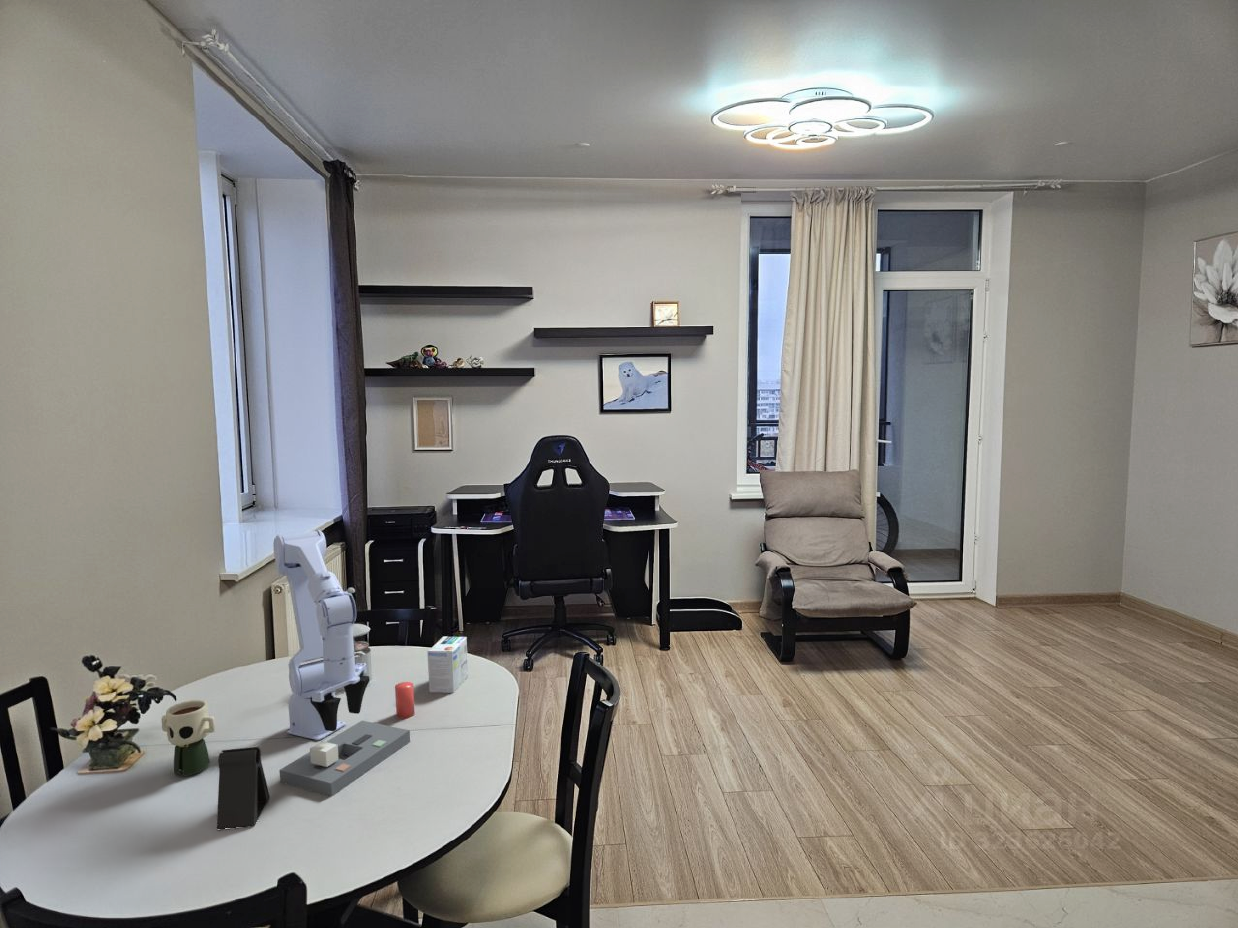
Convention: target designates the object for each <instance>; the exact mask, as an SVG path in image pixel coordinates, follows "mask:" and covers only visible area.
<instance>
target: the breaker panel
mask: <svg viewBox="0 0 1238 928" xmlns="http://www.w3.org/2000/svg"><path fill="white" fill-rule="evenodd" d="M326 742H328V743H332V744H336V745H338V760H337V761H335V762H334V763H332V764H331V765H329V766H328V767H325V766H321V765H317V764H313V763H311V755H310V751H308V752H307V753H305V754H303V755H302V756H301V757H298V758H297V759H295V760H294V761H292V762H291V763H289V764H287V765H285V766H284V767H282V768H280V769H279V782H280V783H281V784H284V785H288V786H291V787H292V786H293V787H296V788H300V789H304V790H307V791H312V792H314V793H319V794H323V795H327V796H331V797H333V796H335V795H336V794H337V793H339V792H341V791H342V790H343V789H344V788H346V787H347V786H349V785H350V784H351V783H353V782H355V781H356V780H358V779H359V778H361V776H363V775H364V774H366V773H367V772H369V771H370V770H372V769H373V768H375V767H376V766H378V765H379V764H380V763H382V762H383V761H384V760H386V759H388V758H389V757H391V756H392V755H393V754H395V753H396V752H397V751H399V750H400V749H402V748H403V747H405V746H406V745H408V744H409V743H410V742H411V730H409V729H407V728H406V729H405V728H402V727H401V728H400V727H395V726H391V725H385V724H382V723H381V724H380V723H375V722H371V721H367V720H360V721H359V722H357V723H355V724H353V725H352V726H350V727H348V728H346V729H345V730H344V731H342V732H339V734H337V735H335V736H334V737H331V738H330V739H328V740H327V741H326ZM343 756H348V757H347V758H346V759H341V758H342V757H343Z"/></svg>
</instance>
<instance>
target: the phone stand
mask: <svg viewBox="0 0 1238 928" xmlns="http://www.w3.org/2000/svg"><path fill="white" fill-rule="evenodd" d="M261 755H262V753H261V748H260V746H253V747H252V746H251V747H243V748H242V747H241V748H233V749H222V750H221V752H220V753H219V755H218V760H217V761H218V762H217V763H218V771H219V772H218V773H219V775H218V792H217V810H216V811H217V814H216V830H217V829H225V828H235V829H237V828H236V827H243V828H249V827H248V826H252V827H255V826H256V824H257V823H256V822H258V821H257V820H259V819H260V817H261V815H262V813H263V812H264V810H265V808H266V806H267V804H268V802H269V801H270V799H269V798H271V796H270V792H269V787H268V784H267V780H266V775H265V770H264V767H263V764H262V763H263V762H262V757H261ZM268 800H269V801H268ZM262 811H263V812H262ZM258 818H259V819H258Z"/></svg>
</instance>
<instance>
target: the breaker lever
mask: <svg viewBox="0 0 1238 928" xmlns="http://www.w3.org/2000/svg"><path fill="white" fill-rule="evenodd" d="M309 752H310V755H311V763H313V764H317V765H321V766H325V767H328V766H329V765H331V764H332V763H334V762H335V761H337V760H338V745H336V744H332V743H328V742H327V741H322V740H321V741H320V742H318V743H316V744H315V745H313V746H311V747H310V748H309Z"/></svg>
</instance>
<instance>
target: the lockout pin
mask: <svg viewBox="0 0 1238 928" xmlns="http://www.w3.org/2000/svg"><path fill="white" fill-rule="evenodd" d="M394 693H395V709H396V710H395V711H396V712H395V714H396V718H397V719H401V720H402V719H403V720H404V719H409V718H412V717H413V716H415V715H416V714H415V697H414V695H415V692H414V683H413V682H411V681H404V682H399V683H397V684H395V686H394Z"/></svg>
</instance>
